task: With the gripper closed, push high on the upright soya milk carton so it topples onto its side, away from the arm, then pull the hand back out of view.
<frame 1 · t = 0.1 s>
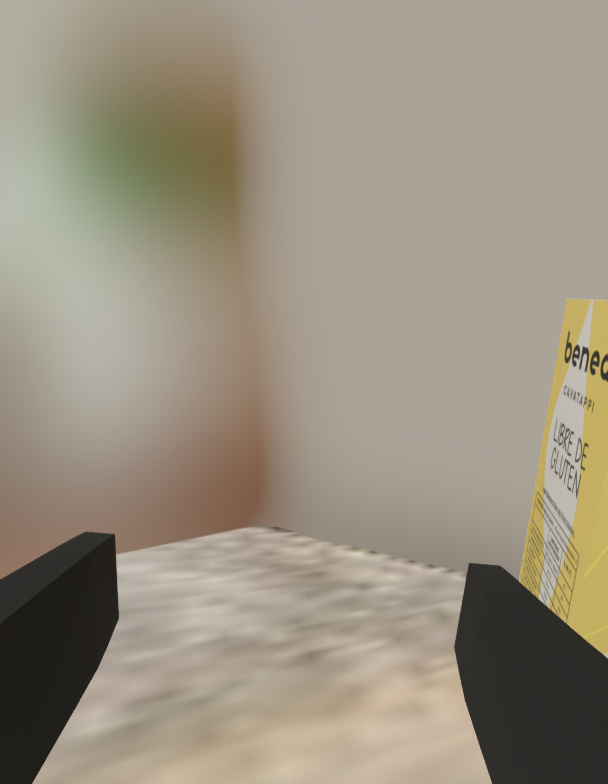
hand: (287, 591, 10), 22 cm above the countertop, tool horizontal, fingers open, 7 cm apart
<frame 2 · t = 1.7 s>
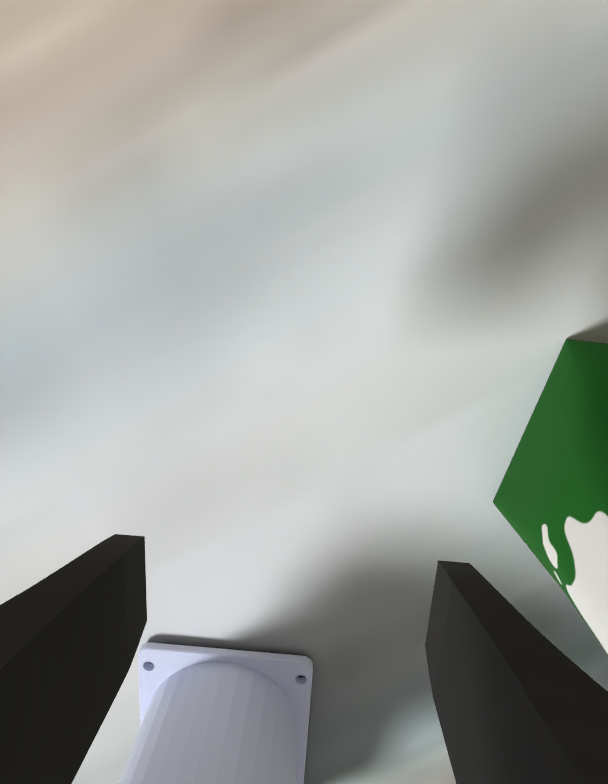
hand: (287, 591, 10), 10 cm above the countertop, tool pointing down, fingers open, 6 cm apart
soya milk: (607, 445, 20), on the countertop
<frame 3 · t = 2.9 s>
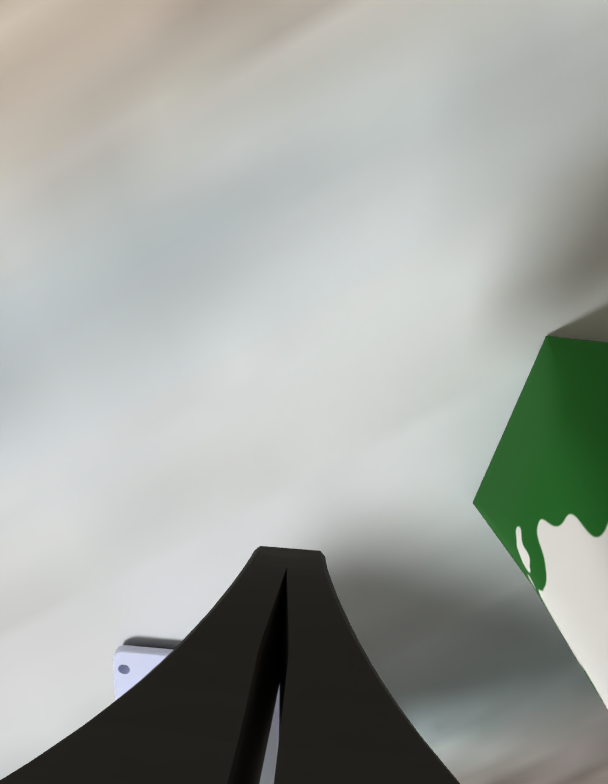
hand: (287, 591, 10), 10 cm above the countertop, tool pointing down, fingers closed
soya milk: (590, 445, 20), on the countertop
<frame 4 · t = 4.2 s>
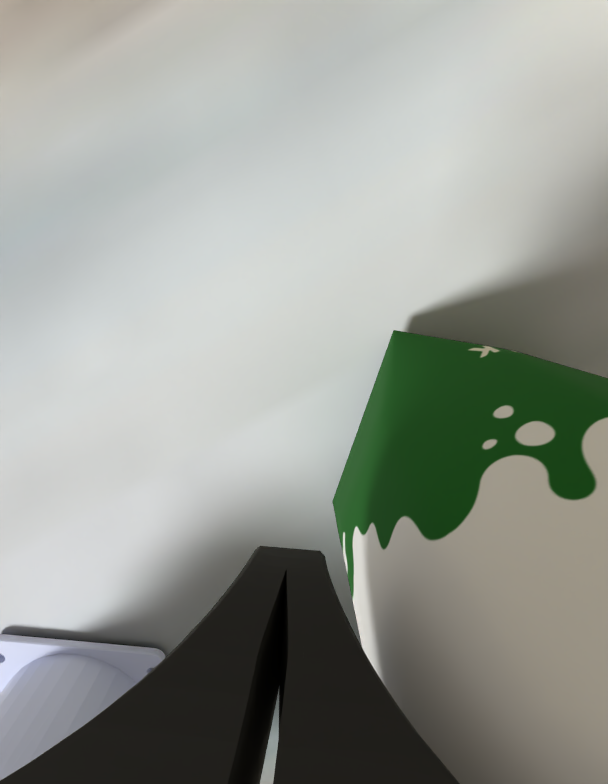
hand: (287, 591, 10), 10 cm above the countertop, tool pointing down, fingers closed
soya milk: (445, 439, 20), on the countertop
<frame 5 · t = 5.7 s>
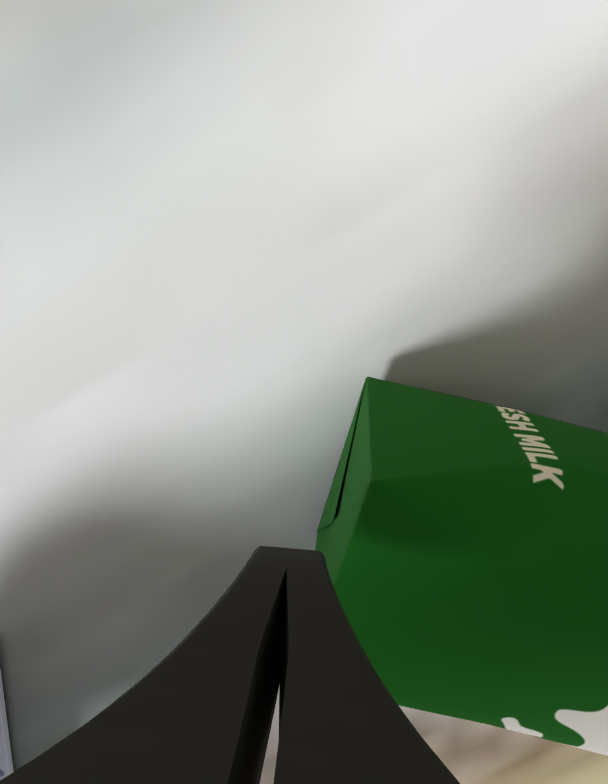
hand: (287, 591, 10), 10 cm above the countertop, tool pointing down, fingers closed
soya milk: (330, 509, 16), point 4 cm above the countertop
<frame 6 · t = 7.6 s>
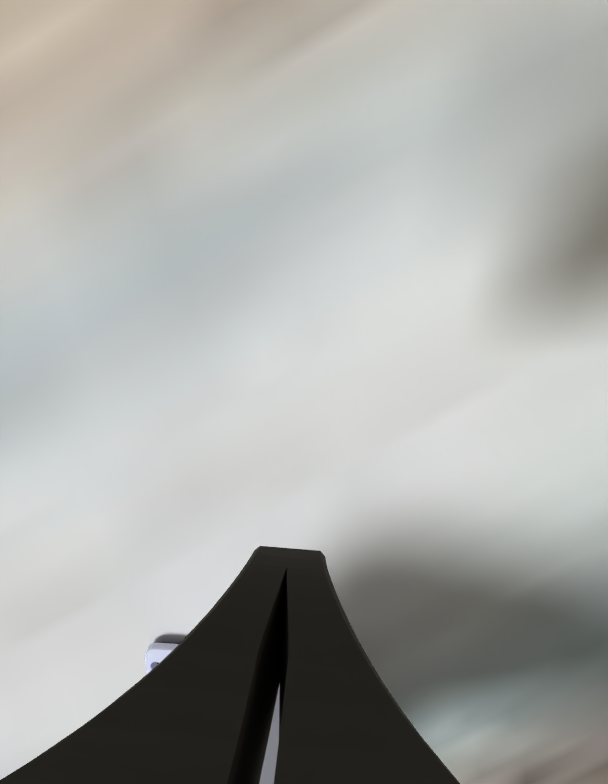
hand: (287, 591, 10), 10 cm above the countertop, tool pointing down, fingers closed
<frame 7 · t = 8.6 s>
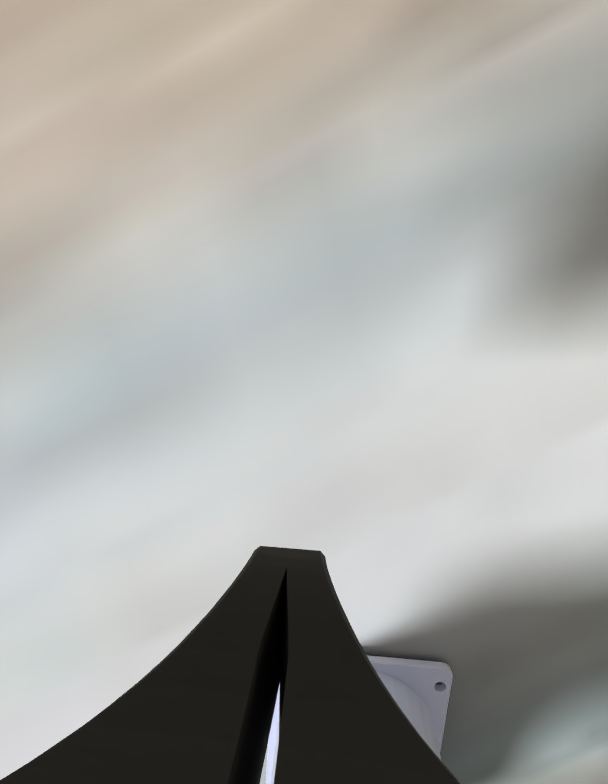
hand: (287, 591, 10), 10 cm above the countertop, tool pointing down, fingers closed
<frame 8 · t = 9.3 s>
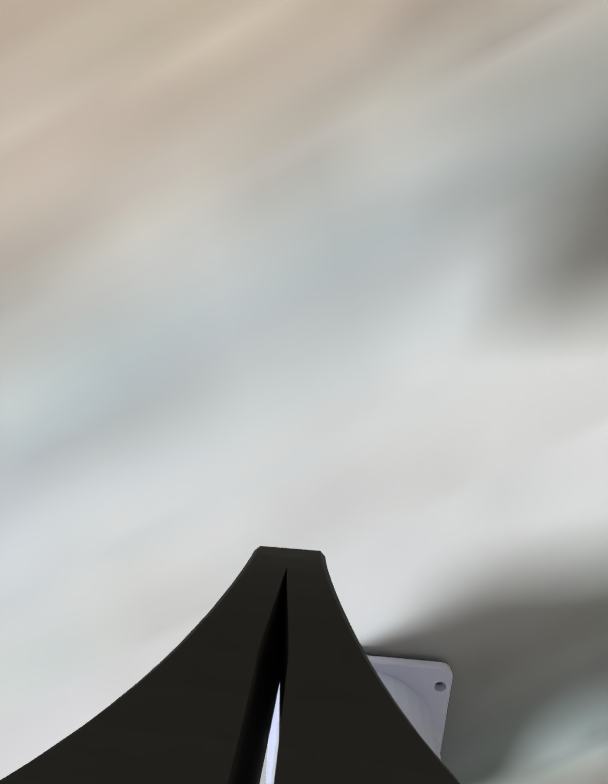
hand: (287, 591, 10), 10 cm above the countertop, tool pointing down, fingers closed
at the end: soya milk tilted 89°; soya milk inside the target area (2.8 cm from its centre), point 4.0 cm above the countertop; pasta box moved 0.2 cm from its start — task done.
